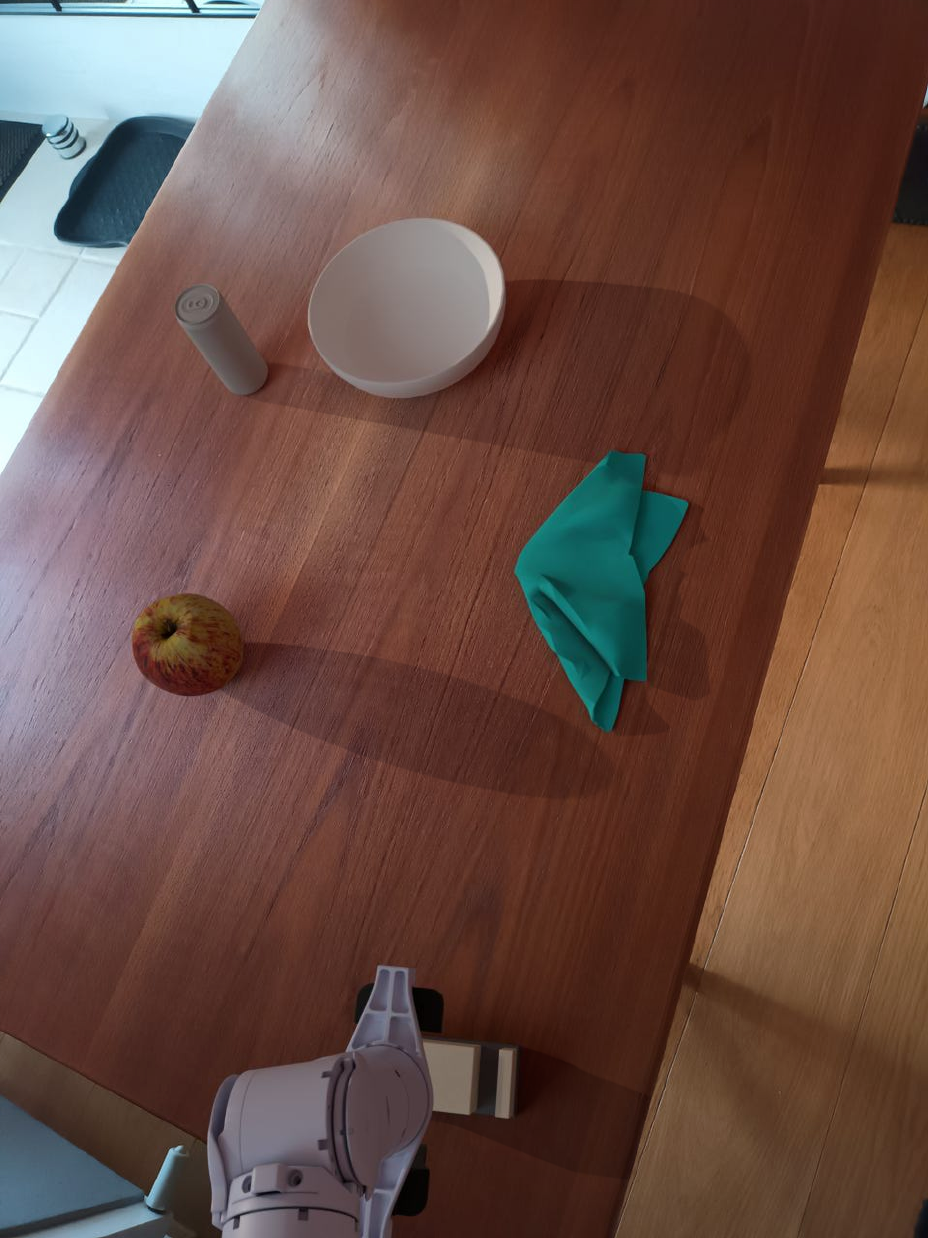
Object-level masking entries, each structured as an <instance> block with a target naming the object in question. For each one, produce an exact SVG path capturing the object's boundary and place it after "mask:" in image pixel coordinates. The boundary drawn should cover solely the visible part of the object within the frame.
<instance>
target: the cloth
mask: <svg viewBox="0 0 928 1238" xmlns="http://www.w3.org/2000/svg"><path fill="white" fill-rule="evenodd" d="M646 460H647V455H645V454H643V453H622V452H620V451H617V450H616V449H615V450H614V449H611V450H610V451H609V452H608V453H607V454H606V455H605V456H604V457H603V458H602V460H601V461H600V462H599V463H598V464H597V465H596V466H595V467H594V468H593V469H592V470H591V471H590V472H589V473H588V474H587V475H586V477H584V478H583V480H581V482H580V483H579V484H578V485H577V486H575V488H574V489H573V490H572V491H571V492H570V493H569V494H568V495H567V496H566V497H565V498H564V499H563V501H562V502H560V504H558V506H557V507H556V508H555V509H554V511H553V512H552V513H551V514H550V516H549V517H548V518H547V519H546V520H545V521H544V522H543V524H541V526H540V527H539V528H538V530H536V532H535V533H534V534H533V535H532V536H531V537H530V539H529V540H528V542H527V543H526V544H525V545H524V547H523V548H522V550H521V551H520V553H519V555H518V558H517V562H516V565H515V568H514V574H515V576H516V577H517V579H518V581H519V583H520V586H521V588H522V591H523V593H524V597H525V599H526V601H527V605H528V607H529V610H530V613H531V616H532V618H533V619H534V622H535V623H536V625H537V627H538V629H539V631H540V632H541V634H542V635H543V637H544V639H545V640H546V642H547V644H548V645H549V648H550V649H551V650H552V651H553V652H554V653H555V654H556V655H557V658H558V659H559V661H560V664H561V666H562V668H563V669H564V672H565V674H566V676H567V678H568V680H569V682H570V683H571V685H572V686H573V689H575V691H576V692H577V695H578V696H579V697H580V699H581V701H582V702H583V704H584V705H585V706H586V708H587V711H588V714H589V717H590V720H591V722H592V723H594V724H595V725H596V726H597V727H598V728H600V729H601V730H602V731H603V732H611V731H612V729H613V728H614V724H615V721H616V719H617V716H618V713H619V709H620V703H621V698H622V693H623V688H624V682H625V679H626V680H629V681H639V682H640V681H641V682H647V678H648V677H647V676H648V674H647V673H648V671H647V666H648V665H647V663H648V662H647V657H648V656H647V655H648V654H647V651H648V650H647V649H648V648H647V647H648V646H647V645H648V644H647V623H646V621H647V620H646V594H645V590H644V589H645V588H644V586H645V584H646V582H647V580H648V578H649V575H650V574H649V573H650V571H651V570H652V569H653V568H654V567H655V566H656V565H657V564H658V563H659V562H660V560H661V559H662V558H663V556H664V554H665V553H666V551H668V548H669V547H670V546H671V544H672V542H673V540H674V538H675V536H676V534H677V532H678V530H679V528H680V527H681V524H682V522H683V520H684V517H685V515H686V512H687V510H688V508H689V502H688V501H687V500H685V499H682V498H678V497H674V496H670V495H667V494H663V493H660V492H655V491H647V490H643V484H644V476H645V468H646V467H645V466H646V462H647V461H646Z"/></svg>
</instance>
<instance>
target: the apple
mask: <svg viewBox="0 0 928 1238" xmlns="http://www.w3.org/2000/svg"><path fill="white" fill-rule="evenodd" d="M131 645H132V646H131V647H132V648H131V649H132V654H133V658H134V659H133V660H134V661H135V664H136V666H137V668H138V670H139V671H140V673H141V675H142V676H143V677H144V678H145V679H146V680H147V681H149V682H150V683H151V684H152V685H154V686H156V687H157V688H159V689H160V690H162V691H165V692H167V693H170V694H173V695H176V696H180V697H199V696H205V695H209V694H211V693H214V692H216V691H219V690H221V689H223V688H224V687H226V685H228V684H229V683H230V682H231V681H232V679H234V677H235V676H236V674H237V673H238V671H239V670H240V669H241V666H242V663H243V660H244V640H243V636H242V631H241V629H240V628H239V625H238V624H237V622H236V620H235V618H234V617H233V615H232V614H231V612H230V611H229V610H228V609H227V608H226V607H225V606H224V605H222V604H221V603H219V602H218V601H215V600H214V599H212V598H210V597H207V596H205V595H202V594H198V593H191V592H184V593H177V594H173V595H169V596H166V597H163V598H160V599H158V600H156V601H153V602H152V603H150V604H148V605H147V606H146V607H145V608H144V609H143V610H142V611H141V613H140V614H139V615H138V617H137V619H136V620H135V622H134V625H133V628H132V634H131Z"/></svg>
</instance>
